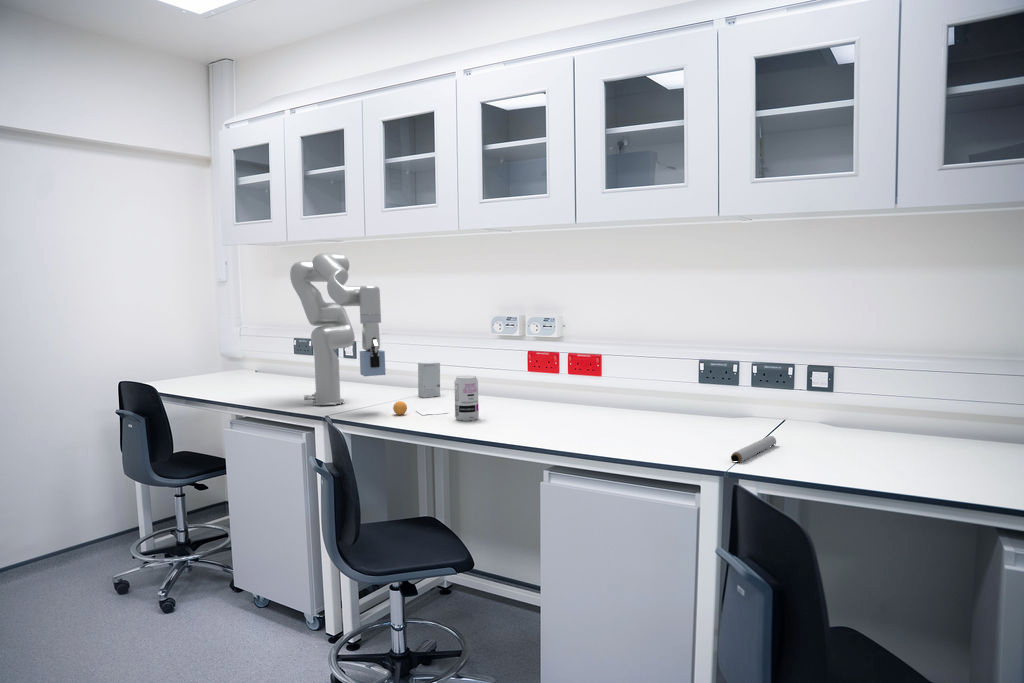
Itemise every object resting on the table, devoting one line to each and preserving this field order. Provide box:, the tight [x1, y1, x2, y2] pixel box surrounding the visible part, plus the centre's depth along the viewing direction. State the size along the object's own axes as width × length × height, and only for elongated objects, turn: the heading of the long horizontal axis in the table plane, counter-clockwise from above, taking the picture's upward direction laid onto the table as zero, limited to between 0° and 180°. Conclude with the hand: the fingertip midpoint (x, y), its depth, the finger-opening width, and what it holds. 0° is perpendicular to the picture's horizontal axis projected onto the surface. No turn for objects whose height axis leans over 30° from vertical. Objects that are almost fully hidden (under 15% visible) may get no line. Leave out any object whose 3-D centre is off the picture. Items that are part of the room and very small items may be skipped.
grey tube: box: [730, 435, 777, 463], centre depth 180 cm, size 3×3×25 cm
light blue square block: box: [359, 349, 387, 377], centre depth 246 cm, size 8×8×9 cm
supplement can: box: [454, 375, 479, 422], centre depth 232 cm, size 8×8×15 cm
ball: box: [392, 400, 408, 416], centre depth 242 cm, size 5×5×5 cm
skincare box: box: [417, 361, 441, 399], centre depth 283 cm, size 8×6×15 cm
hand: (372, 366), depth 246 cm, fingers closed on light blue square block, 7 cm apart
